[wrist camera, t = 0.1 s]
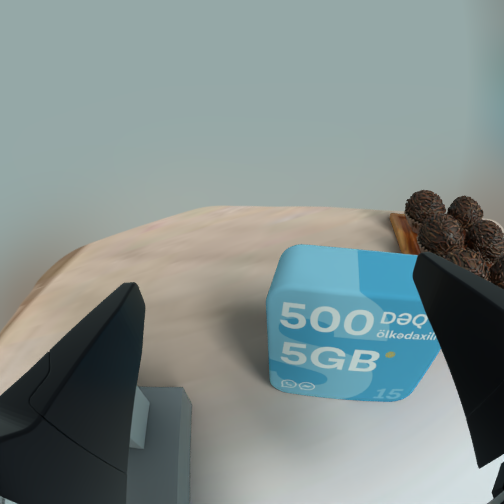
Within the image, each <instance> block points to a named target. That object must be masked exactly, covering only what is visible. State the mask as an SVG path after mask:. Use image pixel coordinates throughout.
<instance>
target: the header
mask: <svg viewBox="0 0 504 504" xmlns="http://www.w3.org/2000/svg"><path fill="white" fill-rule="evenodd" d="M138 388H139V389H140V390H141V392H142V393H143V394H144V396H145V397H146V398H147V400H148V401H149V402H150V405H149V412H148V419H147V427H146V435H145V444H144V449H139V448H131V447H129V457H128V471H127V498H126V504H190V440H191V415H192V403H191V401H190V399H189V398H188V396H187V394H186V392H185V390H184V388H183V387H138Z"/></svg>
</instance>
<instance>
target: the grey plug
mask: <svg viewBox="0 0 504 504" xmlns="http://www.w3.org/2000/svg"><path fill="white" fill-rule="evenodd" d="M149 405H150V402H149V401H148V400H147V398H146V397H145V396H144V394H143V393H142V392H141V390H140V389H139V388H138V386H136V393H135V400H134V408H133V416H132V425H131V434H130V445H129V447H131V448H139V449H144V444H145V435H146V427H147V419H148V412H149Z"/></svg>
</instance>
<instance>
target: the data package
mask: <svg viewBox="0 0 504 504" xmlns="http://www.w3.org/2000/svg"><path fill="white" fill-rule="evenodd" d="M417 256H418V255H410V254H400V253H390V252H380V251H369V250H359V249H348V248H337V247H326V246H315V245H303V244H301V245H295V246H292V247H290V248H288V249H286V250H285V251H284V252H283V254H282V255H281V257H280V260H279V263H278V266H277V269H276V272H275V275H274V278H273V281H272V284H271V287H270V289H269V292H268V295H267V299H266V315H267V334H268V355H269V376H270V382H271V384H272V385H273V386H274V387H275V388H276V389H278V390H280V391H283V392H286V393H292V394H300V395H307V396H315V397H324V398H334V399H346V400H360V401H383V402H392V401H398V400H401V399H404V398H406V397H407V396H409V395H410V394H411V393H412V391H413V390H414V389H415V387H416V386H417V385H418V383H419V382H420V380H421V379H422V377H423V376H424V374H425V373H426V371H427V370H428V368H429V367H430V365H431V364H432V362H433V361H434V359H435V357H436V356H437V354H438V353H439V351H440V349H441V347H440V345H439V342H438V340H437V338H436V335H435V333H434V331H433V329H432V326H431V324H430V322H429V320H428V318H427V315H426V313H425V310H424V307H423V304H422V302H421V299H420V296H419V294H418V291H417V289H416V286H415V284H414V281H413V277H412V274H413V270H414V266H415V263H416V259H417Z"/></svg>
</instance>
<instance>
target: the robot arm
mask: <svg viewBox="0 0 504 504" xmlns="http://www.w3.org/2000/svg"><path fill="white" fill-rule="evenodd" d="M412 277H413V281H414V284H415V286H416V289H417V291H418V294H419V296H420V299H421V302H422V304H423V307H424V310H425V313H426V315H427V318H428V320H429V322H430V324H431V326H432V329H433V331H434V333H435V335H436V338H437V340H438V342H439V345H440V347H441V349H442V352H443V354H444V357H445V359H446V362H447V364H448V367H449V370H450V372H451V375H452V378H453V380H454V383H455V386H456V389H457V392H458V395H459V398H460V401H461V404H462V407H463V410H464V413H465V417H466V421H467V424H468V428H469V431H470V435H471V439H472V443H473V447H474V451H475V456H476V460H477V465H478V468H479V469H480V468H481V467H483V466H485V465H487V464H488V463H490V462H492V461H493V460H495V459H496V458H498V457H500V456H501V455H503V454H504V289H502V288H500V287H498V286H496V285H494V284H493V283H491V282H489V281H487V280H485V279H483V278H481V277H479V276H478V275H476V274H474V273H472V272H470V271H468V270H466V269H464V268H462V267H460V266H458V265H456V264H454V263H452V262H450V261H448V260H446V259H444V258H442V257H440V256H438V255H435V254H433V253H431V252H422V253H419V254H418V256H417V259H416V263H415V266H414V270H413V274H412ZM144 319H145V303H144V300H143V297H142V295H141V292H140V290H139V287H138V285H137V284H136V283H135V282H130V283H123V284H122V285H121V286H119V287H118V288H117V289H116V290H115V291H114V292H113V293H111V294H110V295H109V296H108V297H107V298H106V299H105V300H103V301H102V302H101V303H100V304H99V305H98V306H97V307H96V308H94V309H93V310H92V311H91V312H90V313H89V314H88V315H87V316H86V317H84V318H83V319H82V320H81V321H80V322H79V323H78V324H77V325H76V326H75V327H74V328H72V329H71V330H70V331H69V332H68V333H67V334H66V335H65V336H64V337H63V338H62V339H61V340H60V341H59V342H58V343H57V344H56V345H55V346H53V347H52V348H51V349H50V352H47V353H46V354H45V355H44V356H43V357H42V358H41V359H40V360H39V361H38V362H37V363H36V364H35V365H34V366H33V367H32V368H31V369H30V370H29V371H28V372H26V373H25V374H24V375H23V376H22V377H21V378H20V379H19V380H18V381H16V382H15V383H14V384H13V385H12V386H11V387H10V388H8V389H7V390H6V391H5V392H4V393H3V394H2V395H1V396H0V504H126V498H127V471H128V457H129V445H130V434H131V425H132V416H133V408H134V400H135V393H136V386H137V380H138V373H139V367H140V361H141V355H142V346H143V331H144ZM492 495H493V498H494V499H493V500H491V501H490V502H489V503H487V504H504V462H503V463H501V466H500V469H499V473H498V476H497V479H496V481H495V484H494V487H493V490H492Z"/></svg>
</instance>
